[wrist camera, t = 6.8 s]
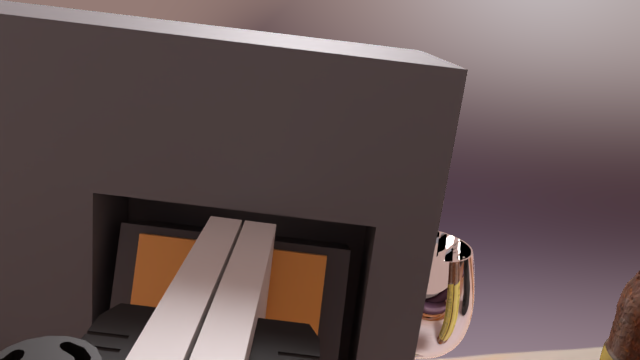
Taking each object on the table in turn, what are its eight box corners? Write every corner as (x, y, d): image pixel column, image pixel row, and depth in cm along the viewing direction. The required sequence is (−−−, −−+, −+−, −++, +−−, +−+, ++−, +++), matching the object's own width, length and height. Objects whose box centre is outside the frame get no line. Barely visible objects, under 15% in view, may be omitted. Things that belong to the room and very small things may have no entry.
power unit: (343, 530, 27) (420, 50, 21) (344, 739, 19) (467, 69, 13) (-82, 478, 27) (-130, -16, 21) (-254, 664, 19) (-410, -36, 13)
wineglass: (354, 471, 30) (388, 264, 27) (338, 400, 36) (364, 220, 32) (458, 471, 31) (503, 270, 28) (426, 401, 36) (460, 227, 33)
